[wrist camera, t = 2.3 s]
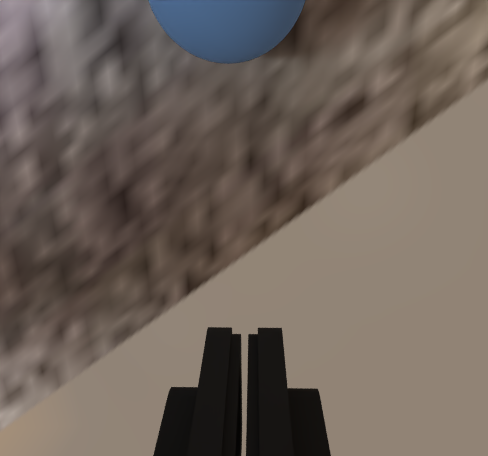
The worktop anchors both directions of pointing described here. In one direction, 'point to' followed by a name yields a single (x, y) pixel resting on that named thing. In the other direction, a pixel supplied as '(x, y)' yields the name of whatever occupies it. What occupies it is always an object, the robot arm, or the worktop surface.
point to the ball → (227, 26)
